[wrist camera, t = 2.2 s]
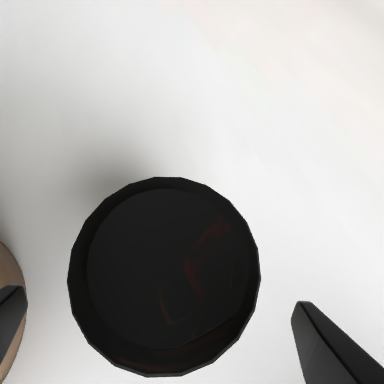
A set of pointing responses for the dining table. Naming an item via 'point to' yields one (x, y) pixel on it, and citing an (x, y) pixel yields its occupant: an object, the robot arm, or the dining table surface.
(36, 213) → the dining table surface
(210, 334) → the coffee cup
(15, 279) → the podium
